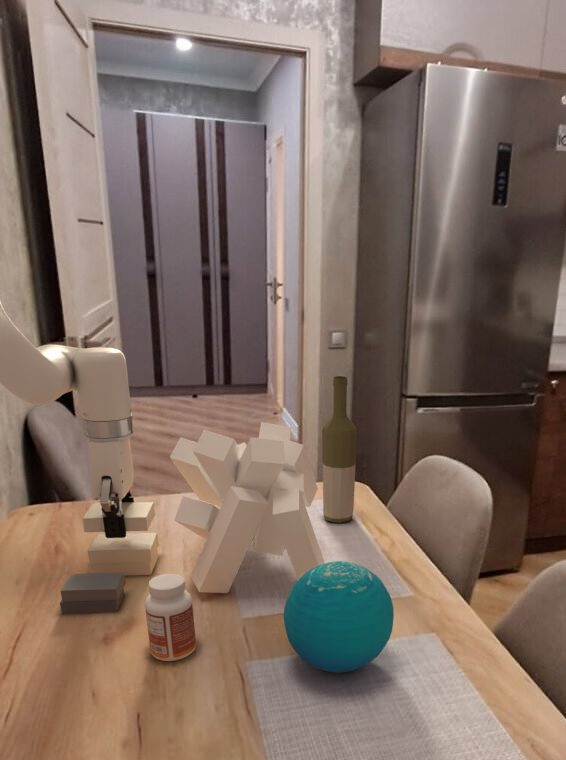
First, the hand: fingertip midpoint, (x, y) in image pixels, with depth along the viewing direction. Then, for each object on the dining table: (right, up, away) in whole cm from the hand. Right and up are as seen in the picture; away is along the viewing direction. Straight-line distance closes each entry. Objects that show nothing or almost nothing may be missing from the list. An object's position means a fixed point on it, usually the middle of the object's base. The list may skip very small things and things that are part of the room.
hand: (121, 527), depth 114 cm
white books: (-1, -7, +3) cm, 8 cm away
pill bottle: (+16, -17, -20) cm, 30 cm away
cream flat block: (0, +1, 0) cm, 1 cm away
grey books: (0, -12, -9) cm, 15 cm away
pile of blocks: (+21, -7, +7) cm, 23 cm away
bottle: (+35, +1, +28) cm, 44 cm away
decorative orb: (+39, -19, -20) cm, 48 cm away
